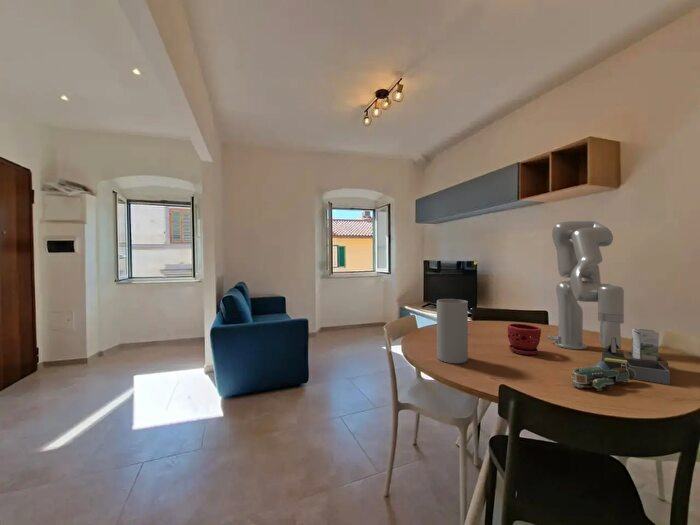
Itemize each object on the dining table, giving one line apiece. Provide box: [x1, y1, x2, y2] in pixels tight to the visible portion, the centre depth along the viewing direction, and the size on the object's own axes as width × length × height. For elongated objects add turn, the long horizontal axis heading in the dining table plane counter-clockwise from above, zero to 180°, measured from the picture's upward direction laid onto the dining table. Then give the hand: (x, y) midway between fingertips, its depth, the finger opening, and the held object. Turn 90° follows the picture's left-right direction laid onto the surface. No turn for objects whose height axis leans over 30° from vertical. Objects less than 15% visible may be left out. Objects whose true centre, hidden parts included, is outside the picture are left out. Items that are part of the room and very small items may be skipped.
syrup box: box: [631, 328, 660, 361], centre depth 118 cm, size 6×6×14 cm
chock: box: [600, 350, 627, 369], centre depth 112 cm, size 6×5×6 cm
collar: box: [623, 350, 669, 370], centre depth 118 cm, size 10×10×4 cm
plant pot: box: [507, 323, 542, 356], centre depth 138 cm, size 13×13×12 cm
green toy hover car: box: [570, 360, 636, 392], centre depth 102 cm, size 10×25×8 cm, turn 102°
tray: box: [625, 358, 671, 386], centre depth 109 cm, size 10×10×4 cm
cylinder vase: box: [436, 298, 469, 365], centre depth 129 cm, size 12×12×25 cm
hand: (610, 365), depth 116 cm, fingers closed
